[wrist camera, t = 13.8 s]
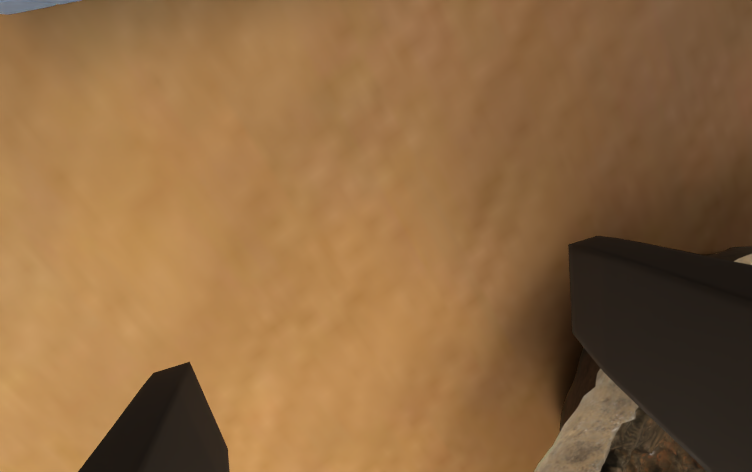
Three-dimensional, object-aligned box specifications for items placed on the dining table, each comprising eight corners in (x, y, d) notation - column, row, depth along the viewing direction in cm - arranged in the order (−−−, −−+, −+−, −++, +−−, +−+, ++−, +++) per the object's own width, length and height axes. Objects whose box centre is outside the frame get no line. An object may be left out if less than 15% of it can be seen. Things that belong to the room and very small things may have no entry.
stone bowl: (914, 357, 32) (1140, 484, 24) (586, 573, 35) (683, 750, 27) (826, 28, 21) (1193, 52, 12) (361, 390, 24) (410, 595, 16)
